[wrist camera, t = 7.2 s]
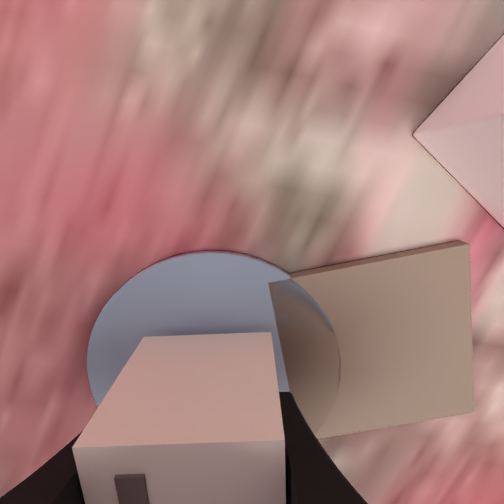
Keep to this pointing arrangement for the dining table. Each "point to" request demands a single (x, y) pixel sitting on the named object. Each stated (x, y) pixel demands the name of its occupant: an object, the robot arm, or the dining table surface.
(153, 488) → the letter cube
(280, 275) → the light blue plate
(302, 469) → the robot arm
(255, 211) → the dining table surface
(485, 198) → the milk
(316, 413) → the cork mat
